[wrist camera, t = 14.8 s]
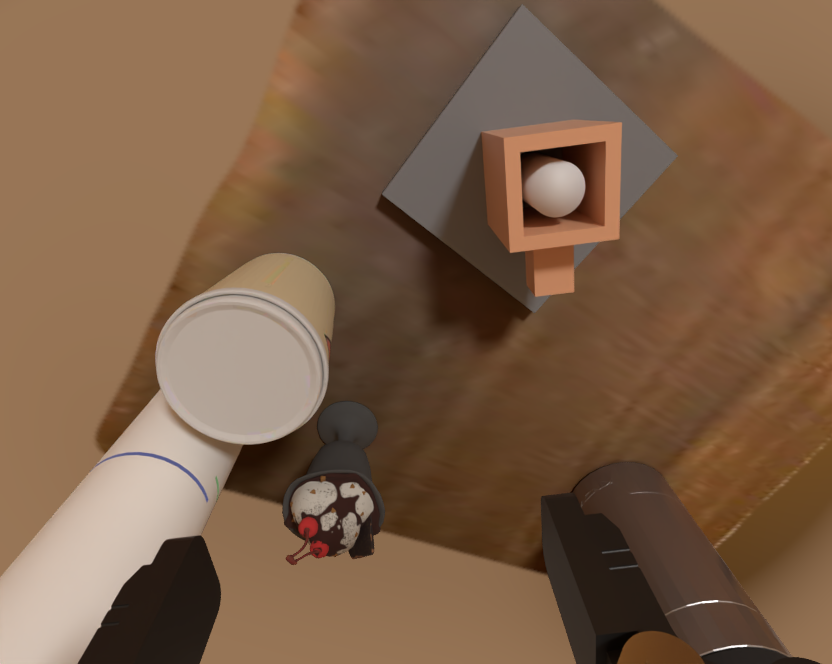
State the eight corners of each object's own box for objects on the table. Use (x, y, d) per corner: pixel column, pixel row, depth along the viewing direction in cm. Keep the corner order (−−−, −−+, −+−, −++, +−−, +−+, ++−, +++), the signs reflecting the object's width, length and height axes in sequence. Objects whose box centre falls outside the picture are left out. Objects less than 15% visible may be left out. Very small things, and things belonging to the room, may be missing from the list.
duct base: (669, 154, 36) (740, 166, 29) (530, 307, 41) (560, 353, 33) (518, 7, 33) (553, -23, 25) (382, 191, 37) (378, 212, 29)
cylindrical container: (237, 345, 41) (30, 648, 18) (274, 421, 44) (135, 769, 21) (152, 371, 42) (-154, 696, 19) (194, 444, 44) (-29, 808, 21)
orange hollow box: (574, 119, 34) (621, 122, 27) (575, 263, 38) (617, 300, 31) (481, 131, 34) (503, 137, 27) (491, 274, 38) (513, 313, 31)
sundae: (296, 399, 43) (247, 538, 29) (377, 384, 43) (367, 516, 29) (317, 466, 46) (282, 622, 32) (395, 452, 45) (393, 603, 31)
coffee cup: (289, 381, 42) (251, 477, 31) (193, 302, 40) (113, 376, 28) (372, 303, 40) (362, 377, 29) (276, 213, 37) (223, 256, 26)
